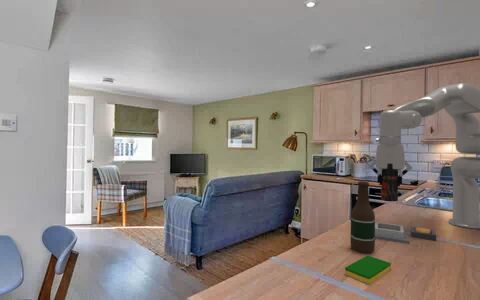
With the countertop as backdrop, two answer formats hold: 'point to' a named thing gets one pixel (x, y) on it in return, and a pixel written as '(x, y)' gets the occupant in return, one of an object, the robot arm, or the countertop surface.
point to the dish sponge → (367, 269)
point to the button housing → (423, 234)
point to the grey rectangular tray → (391, 232)
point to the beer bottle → (363, 222)
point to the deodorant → (389, 184)
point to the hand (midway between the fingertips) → (389, 184)
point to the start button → (422, 230)
